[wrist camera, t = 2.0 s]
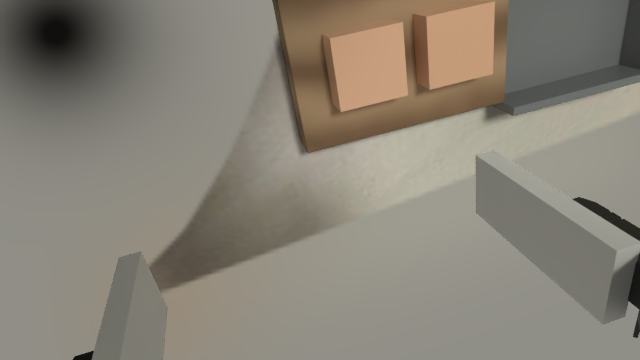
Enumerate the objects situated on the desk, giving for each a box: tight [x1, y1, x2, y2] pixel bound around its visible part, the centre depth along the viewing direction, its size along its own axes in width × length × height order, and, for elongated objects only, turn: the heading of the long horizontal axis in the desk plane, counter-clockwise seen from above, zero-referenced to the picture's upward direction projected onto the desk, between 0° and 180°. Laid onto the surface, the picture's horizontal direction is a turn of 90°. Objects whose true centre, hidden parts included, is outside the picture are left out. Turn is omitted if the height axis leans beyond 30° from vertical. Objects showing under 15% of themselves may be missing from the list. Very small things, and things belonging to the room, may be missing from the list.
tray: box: [492, 0, 640, 116], centre depth 41 cm, size 16×16×4 cm
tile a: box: [322, 18, 408, 112], centre depth 36 cm, size 6×6×2 cm
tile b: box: [413, 0, 495, 90], centre depth 37 cm, size 6×6×2 cm
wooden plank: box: [272, 0, 509, 153], centre depth 39 cm, size 14×20×3 cm
